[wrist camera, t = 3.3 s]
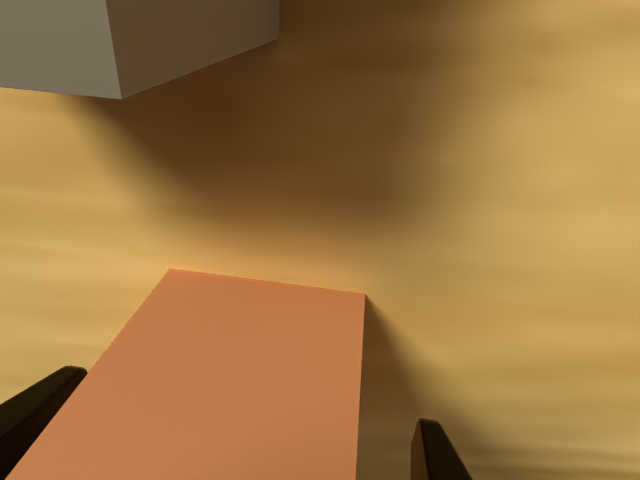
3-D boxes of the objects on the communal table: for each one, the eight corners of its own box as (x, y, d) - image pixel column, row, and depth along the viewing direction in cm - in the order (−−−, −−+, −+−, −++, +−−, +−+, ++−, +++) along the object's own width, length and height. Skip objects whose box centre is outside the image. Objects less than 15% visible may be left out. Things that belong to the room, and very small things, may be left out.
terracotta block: (188, 398, 12) (42, 703, 7) (170, 267, 10) (-70, 575, 5) (345, 423, 12) (318, 762, 6) (364, 293, 9) (346, 657, 4)
